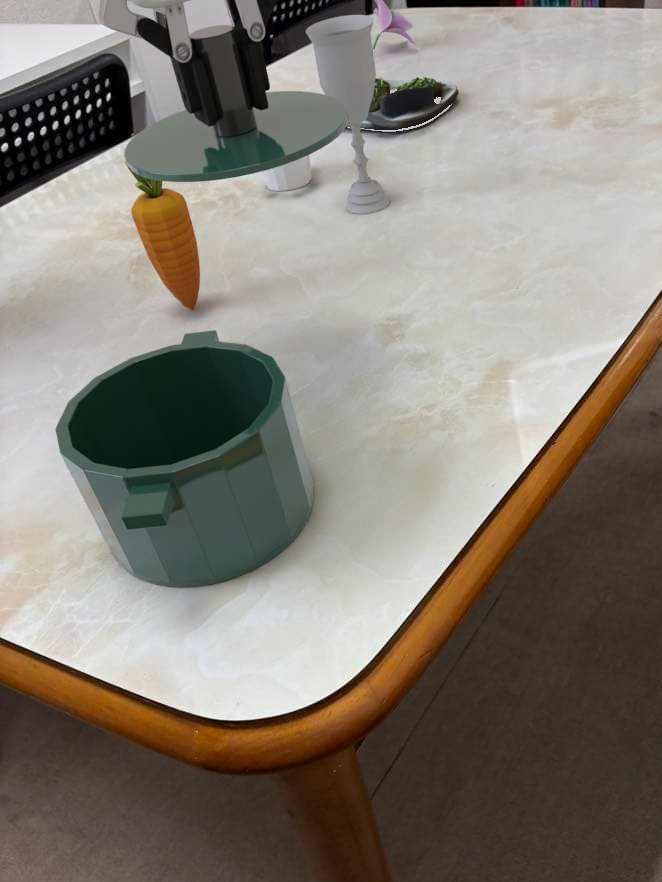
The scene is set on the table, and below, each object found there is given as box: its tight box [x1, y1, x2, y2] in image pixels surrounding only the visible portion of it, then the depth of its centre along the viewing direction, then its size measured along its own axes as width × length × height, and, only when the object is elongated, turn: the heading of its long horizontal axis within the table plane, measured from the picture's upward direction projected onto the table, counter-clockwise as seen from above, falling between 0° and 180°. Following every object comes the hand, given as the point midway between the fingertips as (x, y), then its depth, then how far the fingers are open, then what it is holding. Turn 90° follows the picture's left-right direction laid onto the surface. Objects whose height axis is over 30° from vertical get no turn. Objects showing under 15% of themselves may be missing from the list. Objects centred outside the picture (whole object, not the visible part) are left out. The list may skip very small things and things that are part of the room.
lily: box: [372, 0, 420, 51], centre depth 139 cm, size 12×12×10 cm
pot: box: [55, 330, 314, 588], centre depth 58 cm, size 15×20×10 cm
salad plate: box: [346, 76, 460, 134], centre depth 118 cm, size 19×18×5 cm
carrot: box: [124, 160, 201, 311], centre depth 79 cm, size 5×5×15 cm
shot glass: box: [261, 155, 313, 192], centre depth 103 cm, size 7×7×7 cm
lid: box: [123, 24, 348, 183], centre depth 57 cm, size 16×16×7 cm
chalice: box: [305, 14, 390, 215], centre depth 91 cm, size 7×7×18 cm
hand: (231, 110), depth 58 cm, fingers closed on lid, 3 cm apart
